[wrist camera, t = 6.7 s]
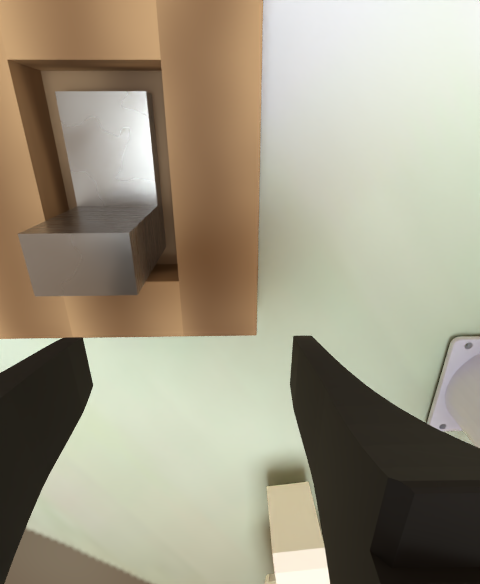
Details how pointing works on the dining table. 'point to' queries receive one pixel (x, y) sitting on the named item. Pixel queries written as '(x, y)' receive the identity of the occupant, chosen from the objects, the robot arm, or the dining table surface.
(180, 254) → the oak well block
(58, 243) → the steel bracket
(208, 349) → the dining table surface
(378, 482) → the robot arm
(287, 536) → the shelf bracket
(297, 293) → the dining table surface
